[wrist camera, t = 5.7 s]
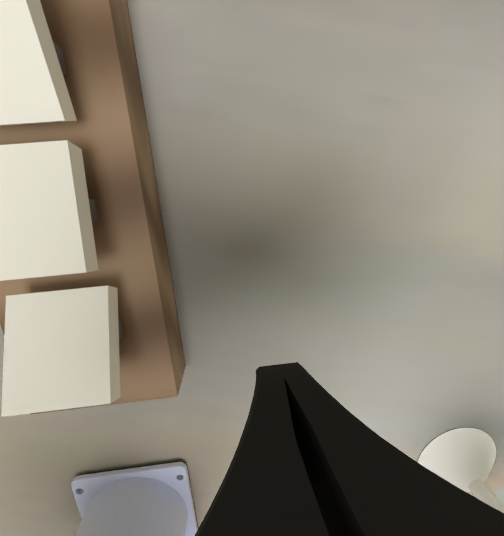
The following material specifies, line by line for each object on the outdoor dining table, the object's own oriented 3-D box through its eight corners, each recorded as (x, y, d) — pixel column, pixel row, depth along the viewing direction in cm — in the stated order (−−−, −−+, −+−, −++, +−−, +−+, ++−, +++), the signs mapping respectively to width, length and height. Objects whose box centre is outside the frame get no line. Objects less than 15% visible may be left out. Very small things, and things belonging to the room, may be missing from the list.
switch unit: (185, 365, 19) (173, 411, 15) (54, 380, 18) (4, 432, 14) (123, -18, 14) (79, -110, 10) (-61, -10, 13) (-190, -102, 9)
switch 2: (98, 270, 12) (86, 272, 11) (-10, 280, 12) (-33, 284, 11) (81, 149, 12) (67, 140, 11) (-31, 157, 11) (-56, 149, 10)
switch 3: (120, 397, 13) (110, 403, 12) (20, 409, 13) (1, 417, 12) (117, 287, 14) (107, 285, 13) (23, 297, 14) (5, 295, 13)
